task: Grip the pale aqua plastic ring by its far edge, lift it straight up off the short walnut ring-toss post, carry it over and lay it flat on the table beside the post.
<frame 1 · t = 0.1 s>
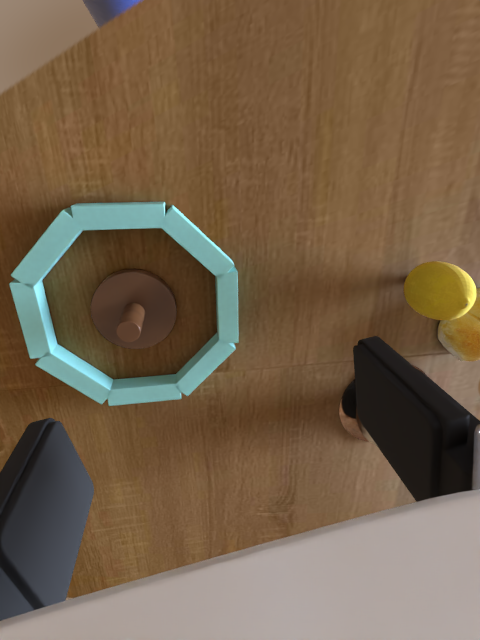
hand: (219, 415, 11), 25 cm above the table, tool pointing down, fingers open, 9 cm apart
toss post: (135, 307, 35), on the table
iced cupcake on saucer: (383, 400, 45), on the table
bread roll: (468, 320, 42), on the table
ring: (135, 307, 35), on the table
lemon: (412, 278, 39), on the table
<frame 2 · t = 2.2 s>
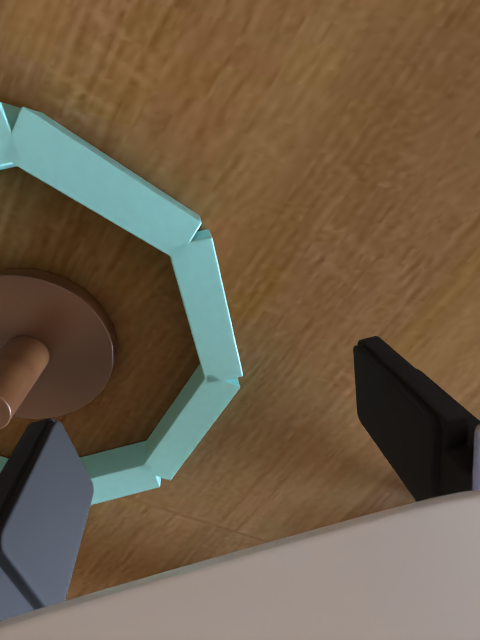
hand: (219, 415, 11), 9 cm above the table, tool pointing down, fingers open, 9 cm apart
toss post: (36, 342, 18), on the table
ring: (36, 342, 18), on the table
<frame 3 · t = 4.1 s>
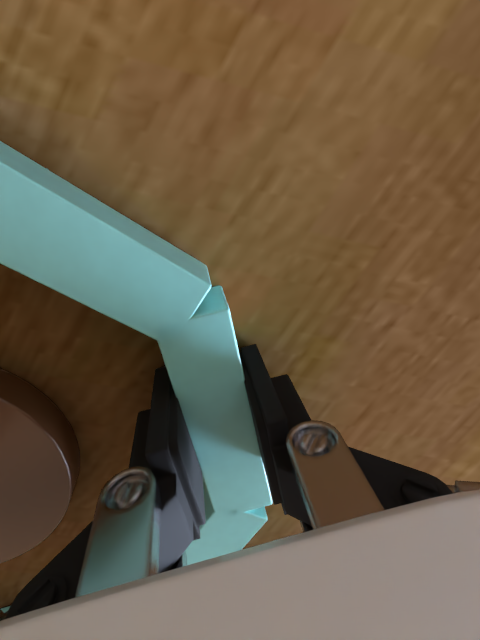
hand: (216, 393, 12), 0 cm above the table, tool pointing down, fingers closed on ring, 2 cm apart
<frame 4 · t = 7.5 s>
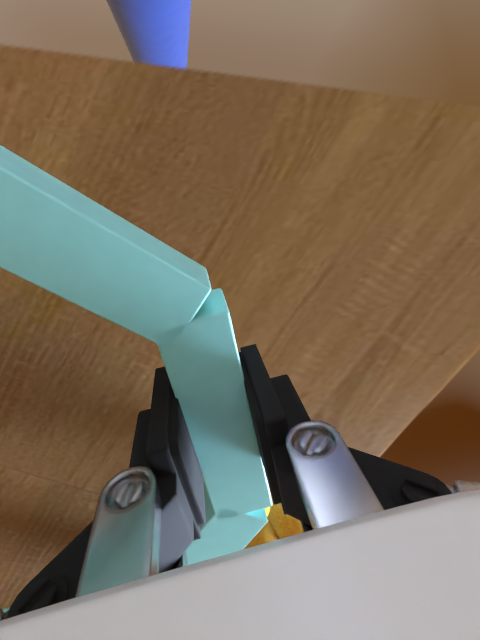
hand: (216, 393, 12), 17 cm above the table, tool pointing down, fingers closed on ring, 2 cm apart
bread roll: (269, 514, 40), on the table
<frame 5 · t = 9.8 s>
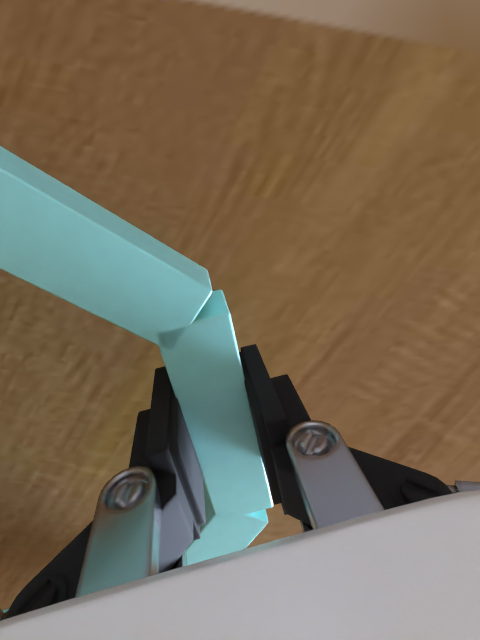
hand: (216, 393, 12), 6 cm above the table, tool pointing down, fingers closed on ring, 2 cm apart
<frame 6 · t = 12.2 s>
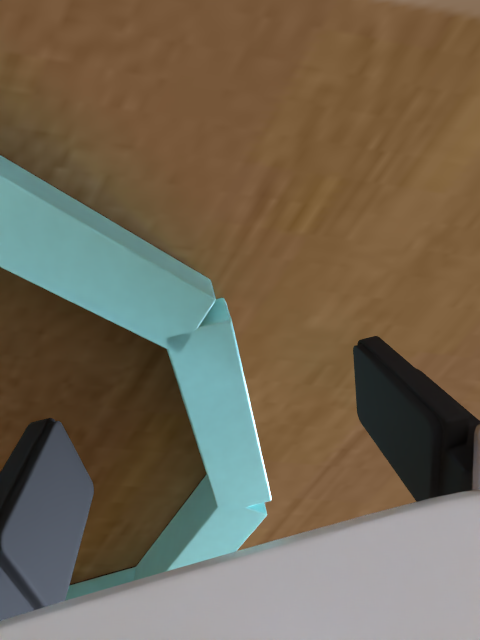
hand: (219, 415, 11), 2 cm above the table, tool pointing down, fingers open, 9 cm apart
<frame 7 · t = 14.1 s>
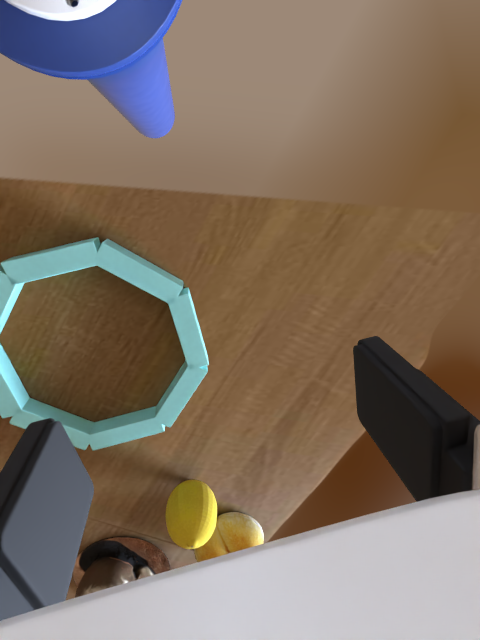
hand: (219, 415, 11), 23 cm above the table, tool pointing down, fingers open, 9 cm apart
iced cupcake on saucer: (123, 566, 46), on the table
bread roll: (225, 531, 46), on the table
ring: (97, 348, 34), on the table
lemon: (190, 481, 42), on the table
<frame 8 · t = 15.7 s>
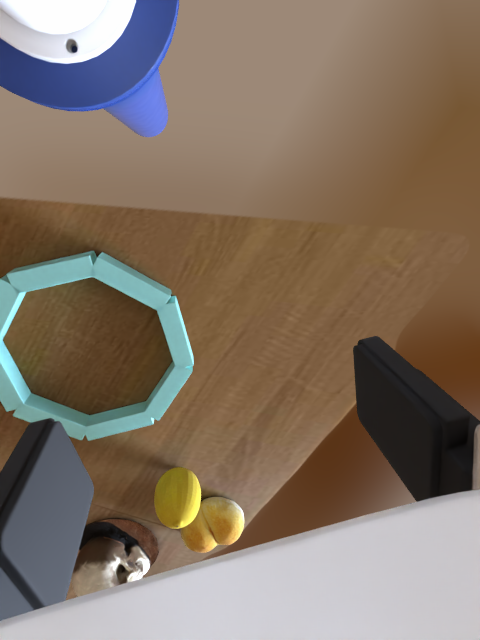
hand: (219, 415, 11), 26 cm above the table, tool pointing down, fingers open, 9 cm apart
iced cupcake on saucer: (115, 546, 50), on the table
bread roll: (209, 514, 51), on the table
ring: (93, 349, 38), on the table
lemon: (177, 468, 46), on the table
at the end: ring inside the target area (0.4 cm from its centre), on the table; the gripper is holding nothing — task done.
